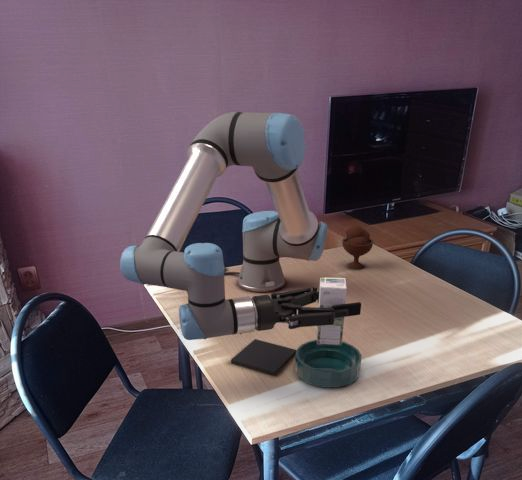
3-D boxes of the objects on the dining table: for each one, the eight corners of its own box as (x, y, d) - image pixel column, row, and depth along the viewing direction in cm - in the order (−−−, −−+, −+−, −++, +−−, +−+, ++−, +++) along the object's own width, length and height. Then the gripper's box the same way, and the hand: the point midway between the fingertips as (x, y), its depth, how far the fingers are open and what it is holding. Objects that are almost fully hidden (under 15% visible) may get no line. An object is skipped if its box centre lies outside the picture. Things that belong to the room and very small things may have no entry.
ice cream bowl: (364, 274, 174) (368, 231, 167) (335, 268, 179) (338, 226, 172) (375, 264, 182) (380, 223, 175) (347, 259, 187) (350, 219, 180)
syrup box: (341, 334, 118) (345, 276, 111) (342, 346, 113) (347, 286, 106) (316, 333, 119) (319, 275, 112) (316, 345, 114) (319, 286, 106)
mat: (231, 363, 123) (230, 359, 123) (255, 342, 132) (255, 338, 132) (274, 375, 118) (274, 372, 118) (296, 353, 127) (296, 349, 127)
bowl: (284, 377, 117) (284, 361, 115) (311, 349, 129) (311, 333, 127) (346, 395, 111) (347, 378, 109) (368, 364, 123) (370, 348, 120)
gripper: (242, 310, 117) (333, 298, 123) (266, 352, 101) (371, 336, 106) (241, 280, 114) (335, 269, 119) (266, 318, 97) (374, 304, 102)
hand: (352, 301), depth 113 cm, fingers closed on syrup box, 7 cm apart
